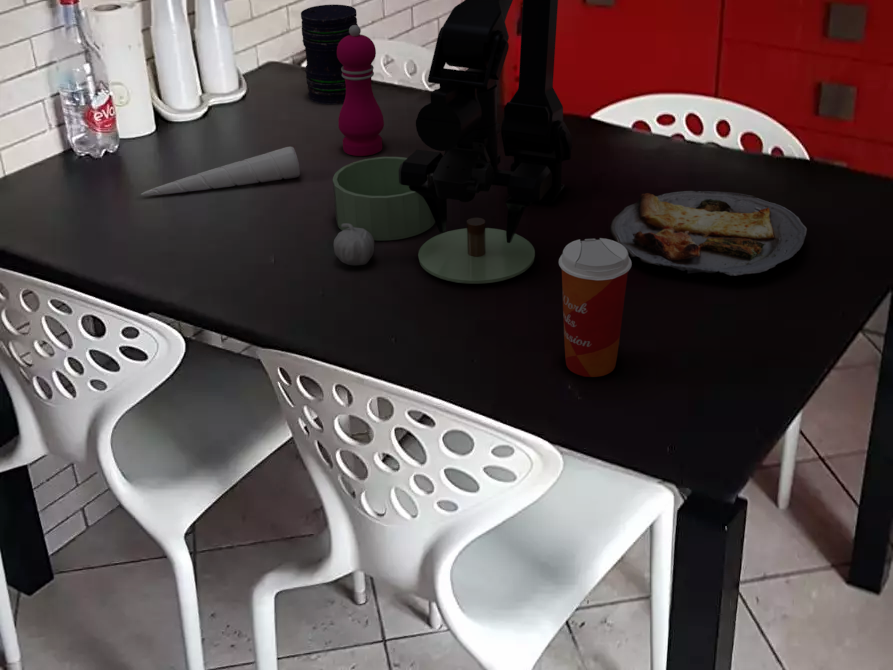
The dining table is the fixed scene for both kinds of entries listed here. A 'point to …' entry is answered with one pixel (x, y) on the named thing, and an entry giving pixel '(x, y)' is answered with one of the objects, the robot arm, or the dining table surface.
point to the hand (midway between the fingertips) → (475, 236)
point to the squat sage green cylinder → (379, 200)
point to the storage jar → (325, 50)
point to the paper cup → (593, 303)
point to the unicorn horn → (238, 173)
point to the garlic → (354, 245)
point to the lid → (476, 254)
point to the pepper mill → (359, 96)
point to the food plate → (709, 232)
